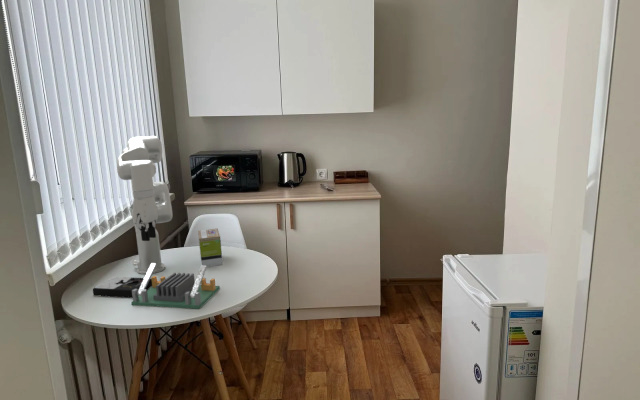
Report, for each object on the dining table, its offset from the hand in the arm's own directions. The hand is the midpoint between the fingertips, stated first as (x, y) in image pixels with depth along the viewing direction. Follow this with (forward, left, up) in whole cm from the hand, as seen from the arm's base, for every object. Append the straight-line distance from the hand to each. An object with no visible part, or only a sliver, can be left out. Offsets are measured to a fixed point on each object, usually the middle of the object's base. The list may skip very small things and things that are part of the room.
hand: (148, 238), depth 174 cm
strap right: (+22, -4, -16) cm, 27 cm away
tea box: (+7, +39, -24) cm, 46 cm away
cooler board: (+11, -2, -23) cm, 26 cm away
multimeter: (-15, +1, -24) cm, 28 cm away
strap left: (0, -4, -16) cm, 16 cm away
